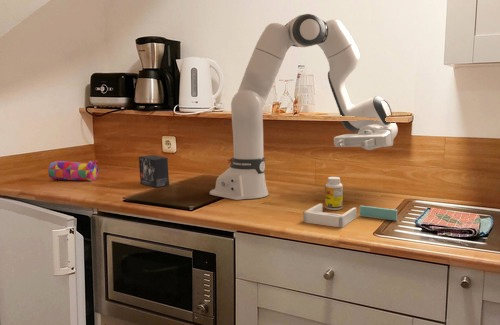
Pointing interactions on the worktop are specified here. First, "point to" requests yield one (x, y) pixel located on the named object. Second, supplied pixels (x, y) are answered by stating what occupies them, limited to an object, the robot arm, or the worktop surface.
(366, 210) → the teal flat bar
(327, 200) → the supplement bottle
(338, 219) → the tray
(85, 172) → the pencil case
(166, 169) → the small box
